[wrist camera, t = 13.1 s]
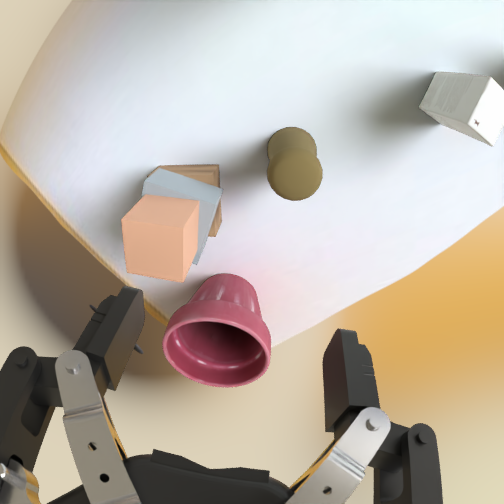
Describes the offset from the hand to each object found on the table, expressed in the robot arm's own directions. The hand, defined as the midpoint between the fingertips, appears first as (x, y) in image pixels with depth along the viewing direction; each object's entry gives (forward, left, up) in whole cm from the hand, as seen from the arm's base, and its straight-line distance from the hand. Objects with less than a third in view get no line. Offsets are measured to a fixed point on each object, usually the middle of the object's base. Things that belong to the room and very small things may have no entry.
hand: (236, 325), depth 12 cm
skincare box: (-12, +20, -29) cm, 37 cm away
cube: (+7, -9, -20) cm, 23 cm away
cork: (0, +3, -29) cm, 29 cm away
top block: (+8, -9, -25) cm, 27 cm away
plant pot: (+24, -2, -29) cm, 37 cm away
